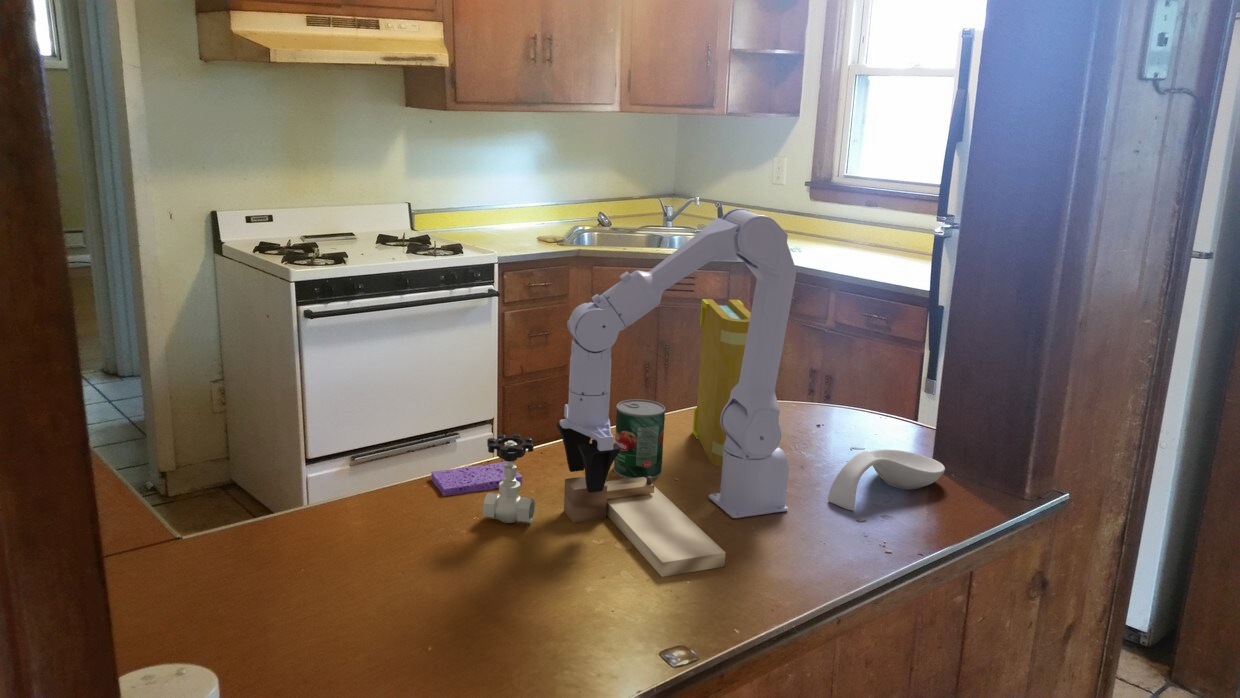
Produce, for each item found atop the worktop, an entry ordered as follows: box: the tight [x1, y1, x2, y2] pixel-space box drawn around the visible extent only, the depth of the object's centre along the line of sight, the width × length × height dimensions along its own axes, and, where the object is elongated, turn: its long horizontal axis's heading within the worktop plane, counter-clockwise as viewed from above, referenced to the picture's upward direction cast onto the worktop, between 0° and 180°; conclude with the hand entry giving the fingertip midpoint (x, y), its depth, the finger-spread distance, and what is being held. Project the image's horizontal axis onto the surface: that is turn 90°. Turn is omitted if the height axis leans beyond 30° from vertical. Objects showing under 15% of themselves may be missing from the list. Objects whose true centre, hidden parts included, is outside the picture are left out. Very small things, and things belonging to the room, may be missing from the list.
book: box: [692, 298, 751, 468], centre depth 158 cm, size 17×7×25 cm, turn 6°
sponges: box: [430, 461, 523, 497], centre depth 142 cm, size 7×13×2 cm, turn 116°
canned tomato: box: [613, 398, 666, 480], centre depth 148 cm, size 8×8×11 cm
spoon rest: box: [827, 449, 946, 512], centre depth 146 cm, size 24×12×7 cm, turn 132°
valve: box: [482, 433, 536, 524], centre depth 128 cm, size 7×7×12 cm
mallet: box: [563, 476, 655, 523], centre depth 134 cm, size 13×4×5 cm, turn 112°
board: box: [605, 477, 726, 578], centre depth 129 cm, size 9×26×2 cm, turn 23°
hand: (585, 480), depth 131 cm, fingers open, 7 cm apart
